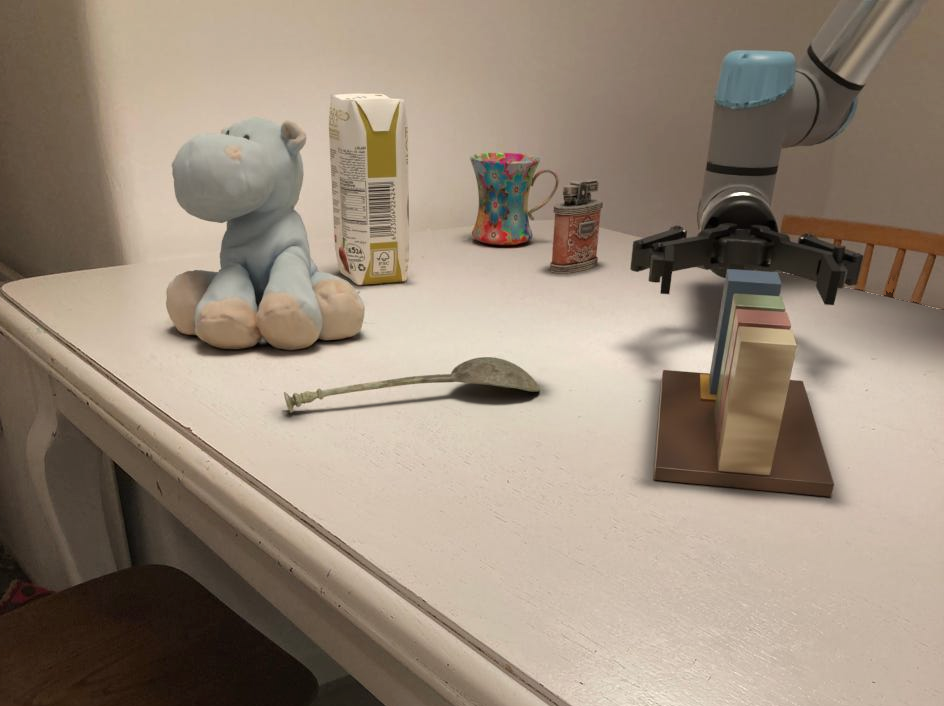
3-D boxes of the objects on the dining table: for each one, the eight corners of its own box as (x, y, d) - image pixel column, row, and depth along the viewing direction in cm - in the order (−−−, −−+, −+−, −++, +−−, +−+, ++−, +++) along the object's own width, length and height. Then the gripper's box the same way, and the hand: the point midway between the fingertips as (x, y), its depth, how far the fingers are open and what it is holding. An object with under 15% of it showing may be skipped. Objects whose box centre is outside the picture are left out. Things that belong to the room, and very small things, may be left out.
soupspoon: (552, 407, 81) (522, 386, 86) (555, 367, 79) (524, 348, 85) (292, 424, 74) (277, 400, 80) (290, 381, 73) (275, 359, 78)
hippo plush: (135, 336, 93) (98, 123, 83) (293, 289, 109) (278, 106, 99) (275, 372, 85) (254, 140, 75) (424, 316, 101) (423, 118, 91)
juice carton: (354, 288, 111) (346, 99, 100) (331, 271, 117) (321, 93, 107) (415, 283, 113) (413, 98, 103) (389, 267, 120) (385, 92, 109)
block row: (800, 391, 84) (827, 271, 78) (831, 497, 66) (868, 351, 60) (661, 380, 85) (677, 262, 80) (653, 480, 67) (673, 336, 62)
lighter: (565, 274, 118) (571, 186, 113) (543, 270, 120) (548, 182, 115) (603, 264, 123) (611, 179, 118) (582, 260, 125) (589, 175, 120)
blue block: (756, 382, 82) (777, 272, 77) (759, 398, 78) (781, 283, 73) (709, 378, 82) (726, 268, 77) (709, 394, 79) (728, 280, 74)
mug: (467, 247, 130) (468, 161, 124) (469, 234, 138) (471, 151, 132) (555, 250, 130) (561, 163, 124) (553, 236, 137) (558, 154, 132)
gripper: (855, 280, 98) (892, 338, 81) (611, 264, 102) (595, 317, 85) (874, 200, 94) (917, 244, 77) (618, 187, 98) (604, 226, 80)
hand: (748, 282), depth 81 cm, fingers open, 13 cm apart
